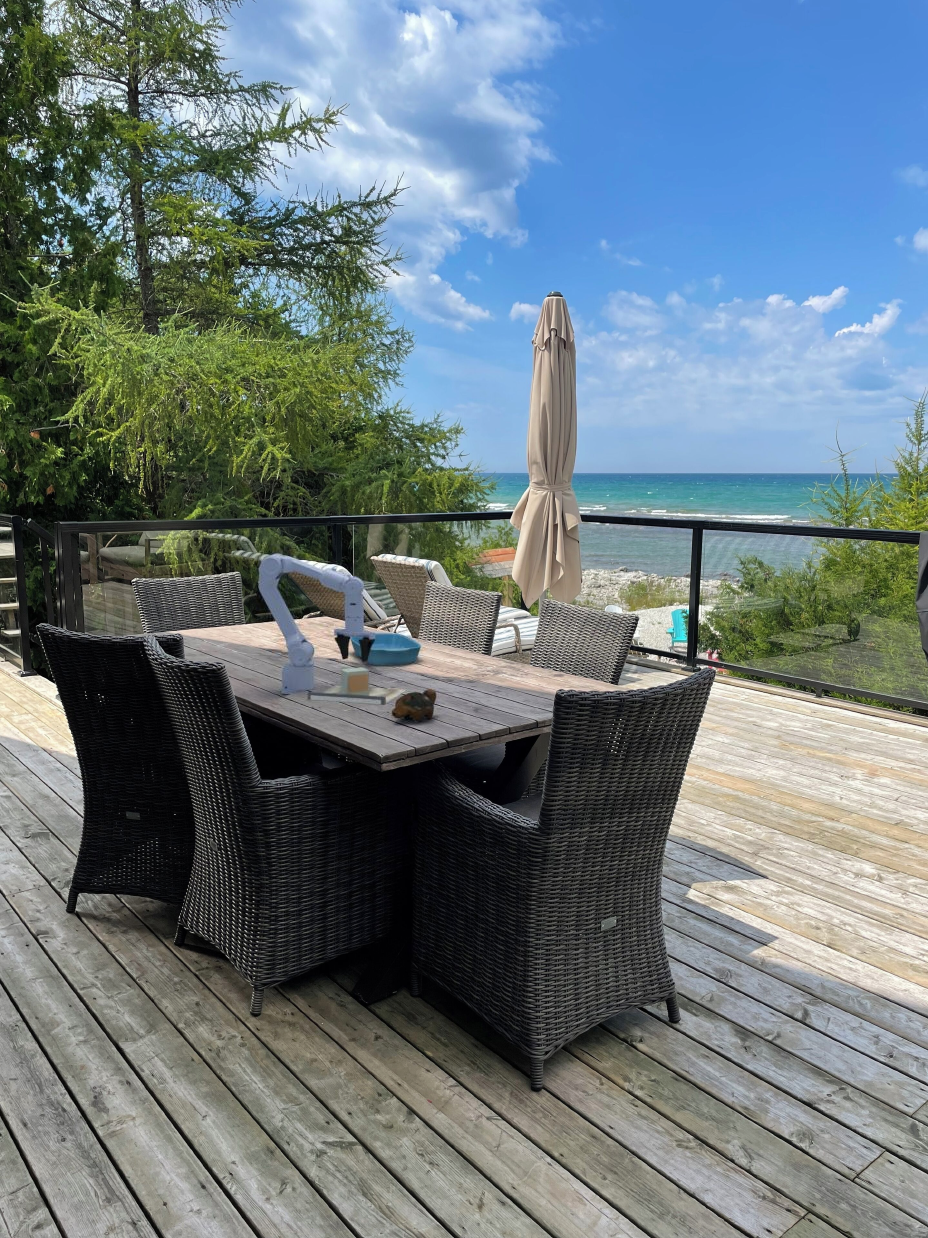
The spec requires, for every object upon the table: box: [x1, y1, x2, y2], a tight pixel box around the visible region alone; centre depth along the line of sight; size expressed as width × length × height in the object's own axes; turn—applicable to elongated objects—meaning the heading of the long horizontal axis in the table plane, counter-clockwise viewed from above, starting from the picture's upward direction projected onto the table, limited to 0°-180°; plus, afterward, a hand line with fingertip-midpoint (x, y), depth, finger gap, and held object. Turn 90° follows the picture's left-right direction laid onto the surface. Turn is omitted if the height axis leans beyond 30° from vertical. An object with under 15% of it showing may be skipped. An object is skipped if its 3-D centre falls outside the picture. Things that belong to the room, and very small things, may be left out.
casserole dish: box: [350, 632, 422, 667], centre depth 339 cm, size 37×22×7 cm, turn 20°
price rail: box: [307, 691, 387, 705], centre depth 265 cm, size 24×1×4 cm, turn 75°
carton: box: [340, 666, 370, 696], centre depth 271 cm, size 5×7×8 cm
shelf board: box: [320, 685, 407, 704], centre depth 275 cm, size 24×18×2 cm
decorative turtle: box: [391, 689, 437, 723], centre depth 250 cm, size 10×15×8 cm, turn 138°
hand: (354, 660), depth 281 cm, fingers open, 7 cm apart
